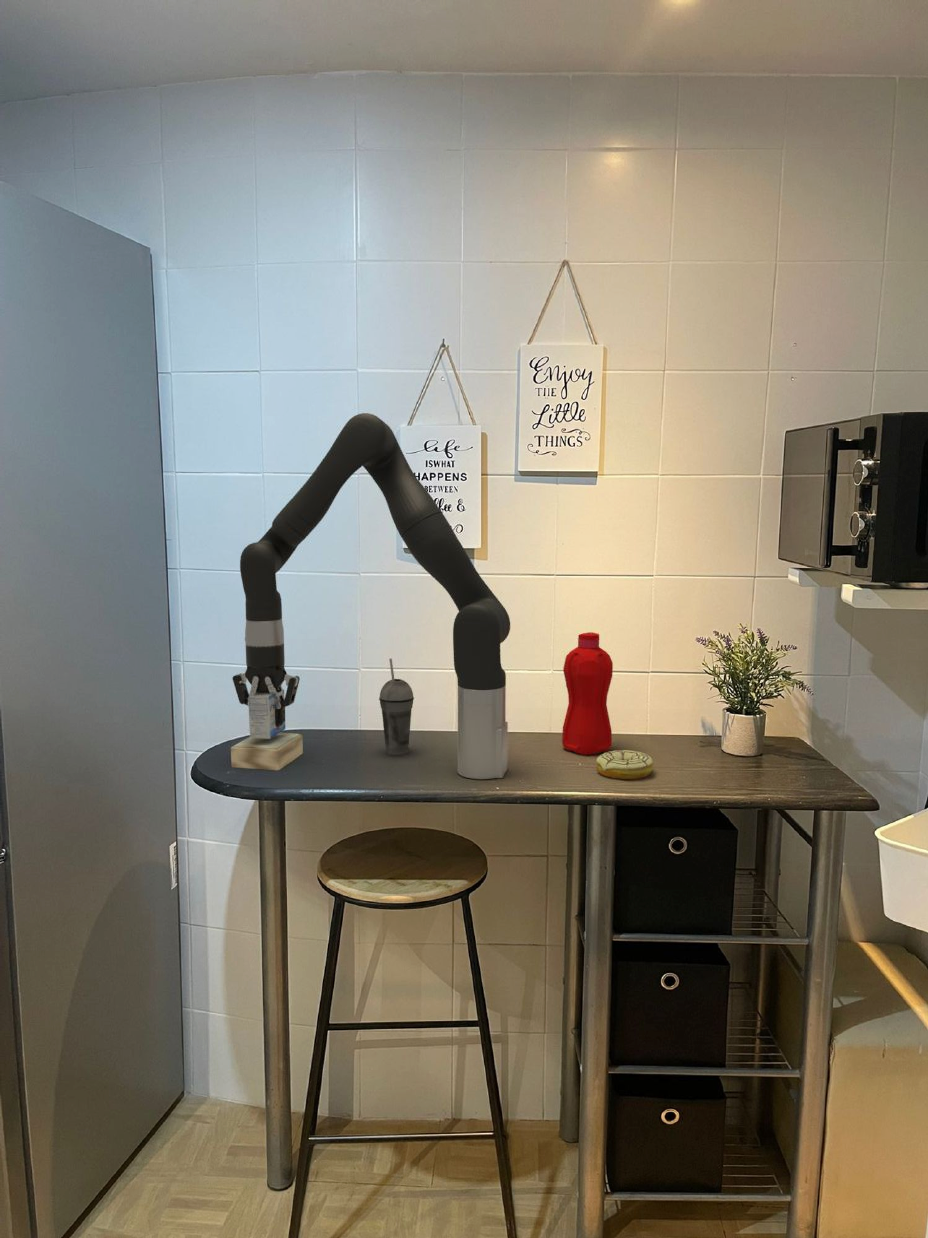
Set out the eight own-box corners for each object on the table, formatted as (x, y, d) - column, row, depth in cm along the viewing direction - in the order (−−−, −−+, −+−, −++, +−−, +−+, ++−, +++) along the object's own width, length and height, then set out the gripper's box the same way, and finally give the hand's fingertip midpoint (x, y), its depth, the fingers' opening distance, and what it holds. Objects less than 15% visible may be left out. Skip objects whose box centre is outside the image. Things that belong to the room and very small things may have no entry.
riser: (302, 753, 182) (302, 733, 182) (278, 770, 170) (278, 749, 170) (258, 750, 184) (257, 731, 184) (231, 767, 173) (230, 746, 172)
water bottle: (580, 739, 193) (582, 627, 189) (617, 750, 184) (620, 633, 181) (550, 746, 187) (551, 631, 184) (586, 758, 178) (589, 637, 175)
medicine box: (270, 739, 172) (268, 696, 171) (249, 738, 173) (247, 695, 172) (286, 729, 180) (284, 688, 179) (265, 728, 181) (264, 687, 180)
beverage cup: (419, 755, 181) (418, 660, 178) (385, 758, 178) (384, 662, 176) (408, 746, 188) (407, 654, 185) (375, 749, 185) (374, 656, 182)
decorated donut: (593, 765, 175) (594, 747, 174) (648, 766, 174) (648, 747, 173) (598, 781, 164) (599, 761, 164) (656, 782, 164) (657, 762, 163)
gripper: (305, 640, 176) (307, 722, 179) (240, 638, 179) (243, 719, 182) (290, 646, 169) (293, 732, 171) (222, 643, 172) (226, 728, 174)
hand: (267, 725), depth 176 cm, fingers closed on medicine box, 4 cm apart
